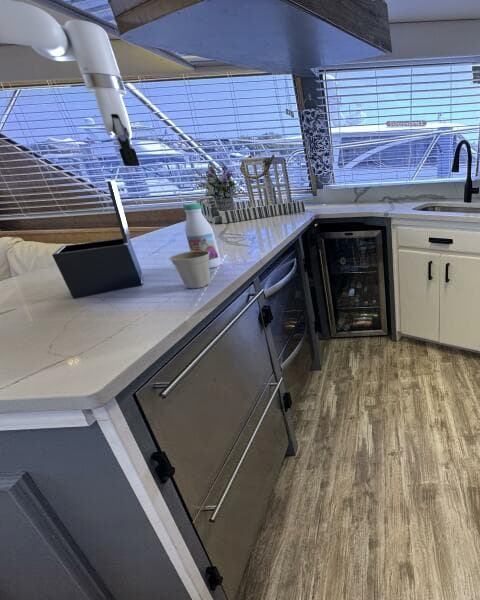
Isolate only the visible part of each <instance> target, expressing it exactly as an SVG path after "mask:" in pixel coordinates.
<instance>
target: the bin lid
mask: <svg viewBox="0 0 480 600" xmlns="http://www.w3.org/2000/svg"><path fill="white" fill-rule="evenodd" d="M106 184H107V187H108V191H109V194H110V198H111V201H112V205H113V208H114V212H115V217H116V220H117V222H118V227H119V229H120V233H121V238H123V240H124V243H128V241H129V239H130V238H131V234H130V230H129V227H128V223H127V220H126V219H127V218H126V216H125V212H124V208H123V205H122V202H121V198H120V194H119V190H118V186H117V183H116V180H108V181H106Z"/></svg>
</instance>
